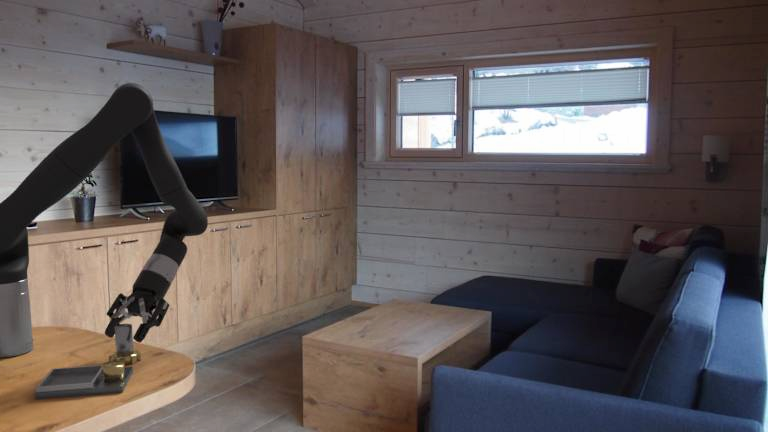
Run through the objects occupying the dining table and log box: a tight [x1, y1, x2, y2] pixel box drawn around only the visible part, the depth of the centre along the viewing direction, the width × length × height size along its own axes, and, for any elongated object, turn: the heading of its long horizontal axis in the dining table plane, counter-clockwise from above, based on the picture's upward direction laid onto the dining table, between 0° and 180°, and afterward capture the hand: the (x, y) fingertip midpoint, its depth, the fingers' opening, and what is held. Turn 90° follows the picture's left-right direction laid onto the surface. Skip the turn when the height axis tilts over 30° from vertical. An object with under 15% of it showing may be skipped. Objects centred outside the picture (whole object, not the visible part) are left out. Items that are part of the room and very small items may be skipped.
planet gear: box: [108, 323, 143, 367], centre depth 146 cm, size 7×7×8 cm
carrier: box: [34, 362, 134, 400], centre depth 132 cm, size 16×11×4 cm
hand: (122, 338), depth 146 cm, fingers open, 8 cm apart
